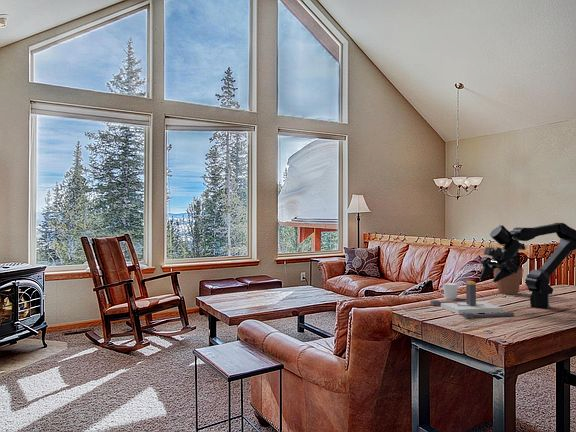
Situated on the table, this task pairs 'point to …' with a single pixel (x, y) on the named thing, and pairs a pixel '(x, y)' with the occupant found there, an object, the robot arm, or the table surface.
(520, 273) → the potted plant
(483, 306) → the breaker panel
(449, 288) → the white cup
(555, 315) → the table surface
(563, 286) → the table surface
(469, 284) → the breaker lever
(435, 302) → the pair of grey rods
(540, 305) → the robot arm
